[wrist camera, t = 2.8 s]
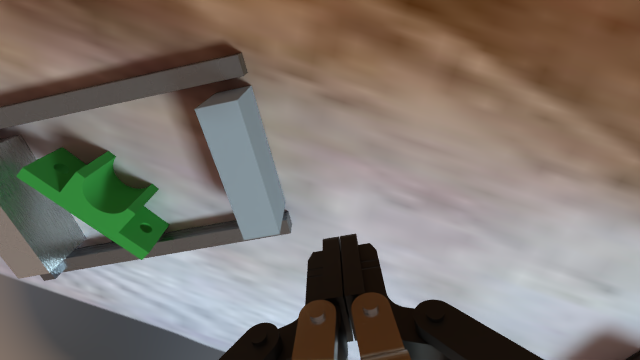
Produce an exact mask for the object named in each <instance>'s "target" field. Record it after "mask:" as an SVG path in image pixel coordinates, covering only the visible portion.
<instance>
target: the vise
mask: <svg viewBox="0 0 640 360" xmlns="http://www.w3.org/2000/svg"><path fill="white" fill-rule="evenodd" d="M247 73H248V72H247V69H246V65H245V62H244V58H243V55H242V53H238V54H234V55H229V56H225V57H220V58H216V59H212V60H207V61H203V62H198V63H194V64H189V65H185V66H180V67H176V68H172V69H167V70H163V71H158V72H154V73H149V74H145V75H140V76H136V77H132V78H127V79H123V80H118V81H114V82H109V83H105V84H100V85H96V86H91V87H87V88H83V89H78V90H74V91H69V92H65V93H60V94H56V95H51V96H47V97H43V98H38V99H34V100H29V101H25V102H20V103H16V104H11V105H7V106H3V107H0V129H2V128H7V127H12V126H16V125H21V124H25V123H30V122H34V121H39V120H44V119H48V118H53V117H57V116H62V115H67V114H71V113H76V112H80V111H85V110H89V109H94V108H99V107H103V106H108V105H112V104H117V103H122V102H126V101H131V100H135V99H140V98H144V97H149V96H154V95H158V94H163V93H167V92H172V91H177V90H181V89H186V88H190V87H195V86H199V85H204V84H209V83H213V82H218V81H222V80H227V79H232V78H236V77H241V76H244V75H245V74H247ZM34 161H36V159H35V157H34V156H33V154H32V152H31V151H30V149H29V148H28V146H27V144H26V143H25V141H24V140H23V138H22V137H21V135H18V136H14V137H9V138H4V139H0V256H1V257H2V259H3V260H4V261H5V262H6V264H7V265H8V266H9V267H10V269H11V270H12V271H13V272H14V274H15V275H16V276H17V277H18V279H19V278H24V277H30V276H36V275H40V276H41V277H42V278H43V280H44V281H45V280H51V279H56V278H57V277H58V276H59V275H60V274H61V273H62V272H67V271H73V270H79V269H84V268H90V267H96V266H102V265H108V264H114V263H120V262H125V261H131V260H137V259H139V258H138V257H136V256H135V255H133V254H132V253H130V252H129V251H127V250H126V249H124V248H123V247H121V246H120V245H118V244H117V243H115V242H112V243H106V244H101V245H95V246H89V247H84V248H78V249H75V248H76V247H77V246H78V245H80V244H81V243H82V242H83V241H84V240H85V239H86V238H85V236H84V234H83V233H82V231H81V230H80V228H79V226H78V225H77V223H76V222H75V220H74V219H73V217H72V215H71V214H70V212H68V211H67V210H65V209H64V208H62V207H61V206H59V205H58V204H56V203H55V202H53V201H52V200H50V199H49V198H47V197H46V196H44V195H43V194H41V193H40V192H38V191H37V190H35V189H34V188H32V187H31V186H29V185H28V184H26V183H25V182H23V181H22V180H20V179H19V178H17V177H16V176H17V175H18V173H19V172H20V170H21V169H22V168H23V167H25V166H26V165H28V164H30V163H32V162H34ZM291 227H292V223H291V219H290V216H289V212H288V211H287V212H284V214H283V219H282V224H281V230H280V234H277V235H283V234H289V233H291ZM277 235H271V236H277ZM271 236H266V237H271ZM266 237H260V238H266ZM260 238H254V239H260ZM254 239H248V240H254ZM248 240H244V239H243V236H242V234H241V231H240V228H239V226H238V223H237V220H236V221H230V222H225V223H219V224H214V225H208V226H202V227H197V228H191V229H185V230H180V231H174V232H168V233H163V234H162V236H161V237H160V238H159V240H158V241H157V243H156V244H155V245H154V247H153V248H152V249H151V251H150V252H149V253H148V254H147V255H146V256H145V257H144V258H149V257H155V256H160V255H166V254H172V253H178V252H184V251H190V250H195V249H201V248H207V247H213V246H219V245H225V244H231V243H236V242H242V241H248Z"/></svg>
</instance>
